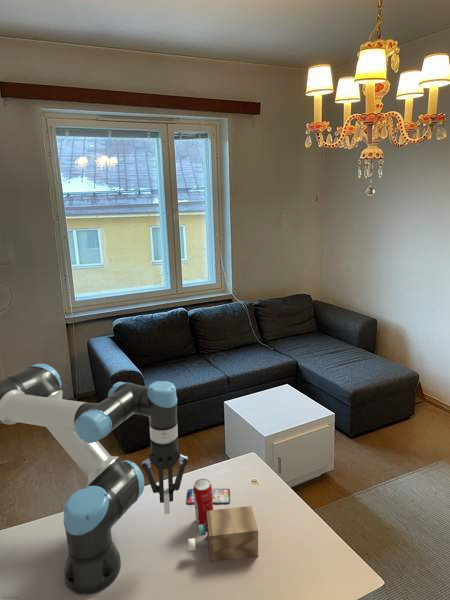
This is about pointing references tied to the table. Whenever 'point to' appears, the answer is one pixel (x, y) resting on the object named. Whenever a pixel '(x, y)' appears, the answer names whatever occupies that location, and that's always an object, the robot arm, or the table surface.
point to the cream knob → (196, 543)
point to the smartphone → (217, 496)
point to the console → (232, 534)
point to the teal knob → (202, 529)
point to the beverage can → (202, 500)
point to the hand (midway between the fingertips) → (166, 510)
